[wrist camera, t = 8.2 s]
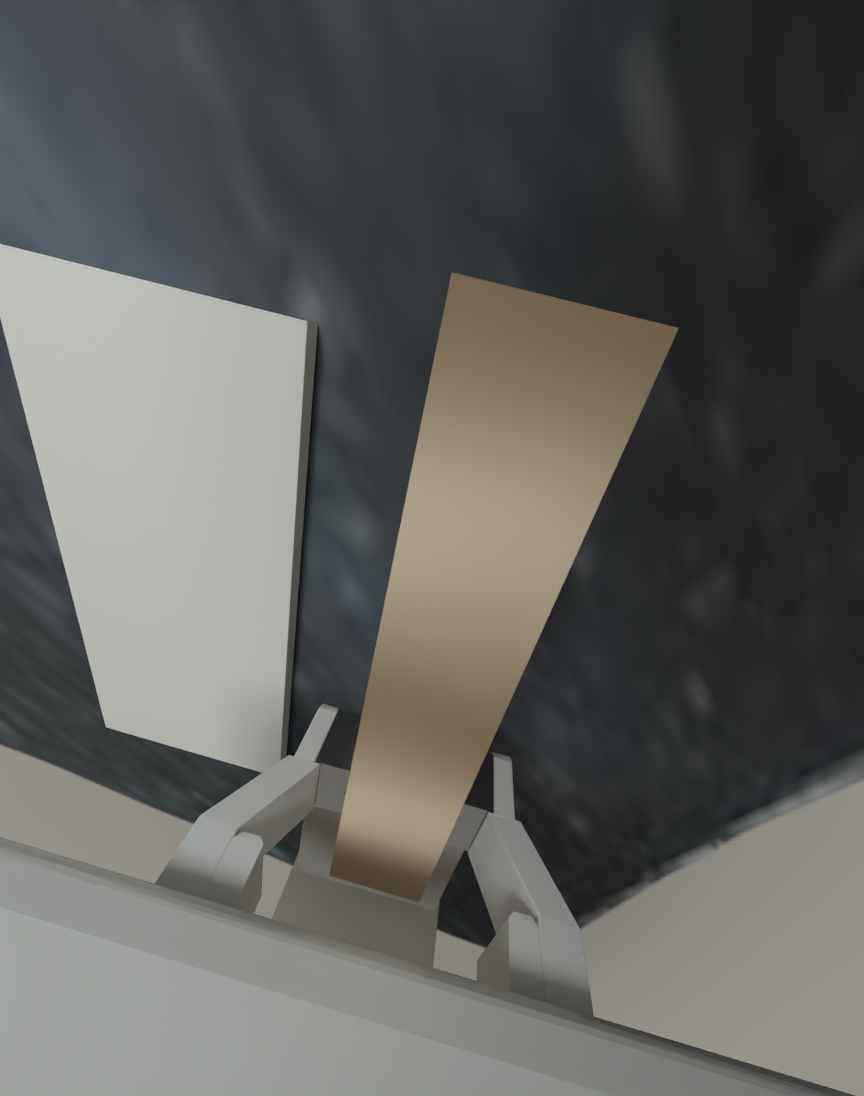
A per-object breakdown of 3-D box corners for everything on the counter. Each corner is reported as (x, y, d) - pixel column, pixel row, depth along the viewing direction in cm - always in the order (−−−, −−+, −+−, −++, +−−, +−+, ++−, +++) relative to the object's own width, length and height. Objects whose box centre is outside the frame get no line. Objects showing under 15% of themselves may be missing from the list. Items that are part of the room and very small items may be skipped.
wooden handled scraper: (383, 296, 8) (286, 232, 4) (678, 370, 7) (854, 371, 4) (307, 843, 17) (257, 970, 13) (437, 881, 17) (422, 1020, 13)
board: (8, 245, 13) (-20, 238, 12) (317, 323, 13) (307, 321, 12) (117, 716, 24) (106, 727, 23) (285, 764, 23) (279, 777, 23)
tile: (335, 758, 22) (263, 941, 15) (450, 791, 22) (430, 991, 15) (332, 777, 23) (262, 959, 16) (442, 809, 23) (420, 1007, 16)
